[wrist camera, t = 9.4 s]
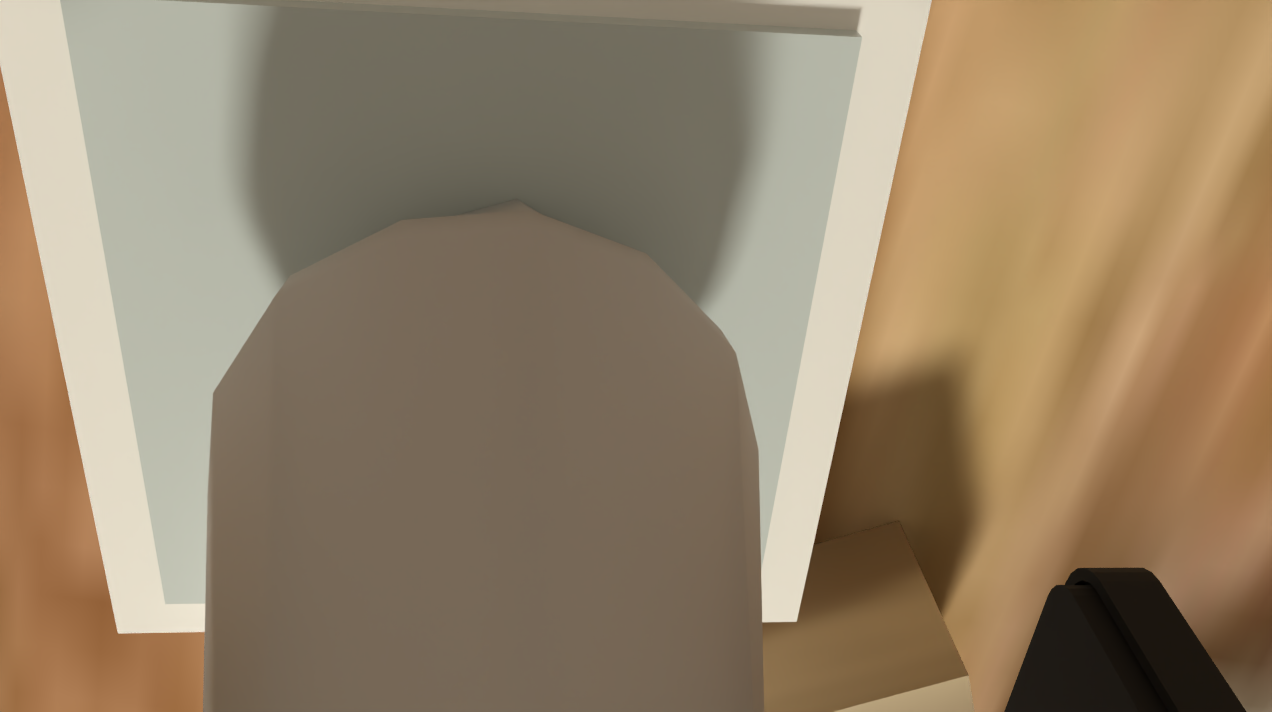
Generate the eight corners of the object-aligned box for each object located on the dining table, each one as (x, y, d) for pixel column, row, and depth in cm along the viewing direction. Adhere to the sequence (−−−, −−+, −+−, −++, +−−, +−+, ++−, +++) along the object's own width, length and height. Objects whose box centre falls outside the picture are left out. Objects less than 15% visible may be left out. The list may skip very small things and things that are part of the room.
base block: (83, -166, 15) (-43, -94, 11) (846, -113, 16) (947, -33, 13) (178, 462, 20) (113, 645, 17) (748, 463, 22) (800, 633, 18)
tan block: (699, 573, 23) (736, 737, 20) (897, 517, 23) (968, 675, 20) (742, 702, 25) (782, 871, 22) (923, 654, 25) (991, 816, 22)
